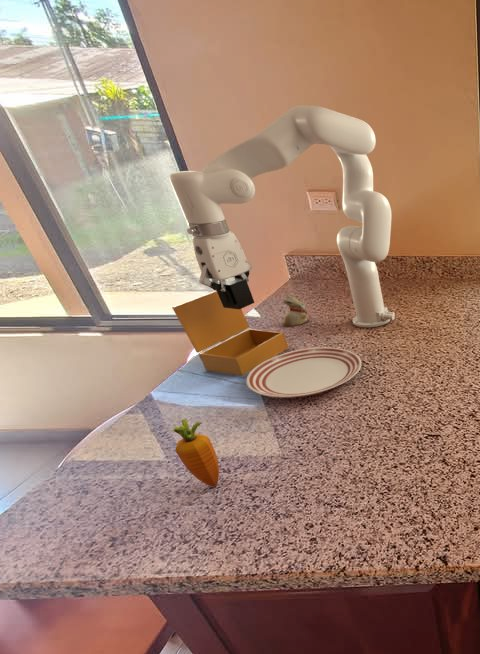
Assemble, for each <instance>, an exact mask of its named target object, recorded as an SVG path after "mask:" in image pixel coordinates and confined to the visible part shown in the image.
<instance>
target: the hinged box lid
mask: <svg viewBox="0 0 480 654" xmlns="http://www.w3.org/2000/svg"><path fill="white" fill-rule="evenodd" d="M172 310H173V312H174V314H175V315H176V317H177V319H178V321H179V323H180V325H181V327H182V328H183V330H184V332H185V333H186V336H187V338H188V339H189V341H190V343H191V345H192V346H193V348H194V350H195V352H196V353H201V352H203V351H205V350H207V349H209V348H211V347H213V346H215V345H217V344H219V343H221V341H223V340H225V339H227V338H229V337H231V336H233V335H235V334H237V333H239V332H241V331H243V330H245V329H247V328H250V325H249V322H248V320H247V318H246V316H245V314H244V312H243V310H242V309H232V308H224V307H223V305H222V302H221V300H220V298H219V295H218V293H217V291H215V290H213V291H212V292H209V293H207V294H204V295H201V296H198V297H195V298H193V299H190V300H188V301H185V302H182V303H180V304H176V305H175V306H172Z"/></svg>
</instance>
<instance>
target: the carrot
mask: <svg viewBox="0 0 480 654" xmlns="http://www.w3.org/2000/svg"><path fill="white" fill-rule="evenodd" d="M181 424H182V425H179V427H178V426H175V427H173V430H172V431H173V432H174V433H175V434H178V435H180V437H181V439H179V440H178V441H177V443H176V446H175V453H176V454H177V456H178V457H179V459H180V461H181V462H182V464H183V466H184V467H185V468H186V469H187V470H188V472H189V473H191V475H192V476H193V477H194V478H196V480H198V481H199V482H202V484H205V485H207V486H209V487H214V488H215V487H216V486H217V485H218V483H219V477H220V465H219V460H218V456H217V452H216V451H215V448H214V445H213V443H212V441H211V439H210V438H209V437H208V436H207V435H204V434H200V433H196V431H197V428H198V427H199V426H200V425H201V424H202V422H200V421H197V422H195V423H194V424H193V425H192V427H191V429H190V427H189V422H188V420H187V418H184V419H181Z"/></svg>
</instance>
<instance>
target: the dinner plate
mask: <svg viewBox="0 0 480 654" xmlns="http://www.w3.org/2000/svg"><path fill="white" fill-rule="evenodd" d="M361 368H362V360H361V358H360V357H359V355H358V354H357V353H355V352H353V351H351V350H348V349H344V348H339V347H330V346H329V347H328V346H323V347H321V346H319V347H308V348H302V349H295V350H292V351H288V352H284V353H280V354H277V355H276V356H274V357H273V358H270V359H268V360H266V361H264V362H262V363H261V364H259V365H257V366H256V367H255V368H254V369H253V370H251V371H250V372H248V373H247V376H246V379H245V383H246V386H247V387H248V389H249V390H250V391H252V392H253V393H255V394H257V395H260V396H265V397H269V398H277V399H278V398H279V399H281V398H282V399H291V398H302V397H309V396H313V395H317V394H320V393H324V392H326V391H330V390H332V389H334V388H336V387H339V386H340V385H341V386H342V385H343V384H345V383H347V382H348V381H350V380H352V378H354V377H355V376H356V375H357V374H358V373H359V371H361Z"/></svg>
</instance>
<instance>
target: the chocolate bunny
mask: <svg viewBox="0 0 480 654" xmlns="http://www.w3.org/2000/svg"><path fill="white" fill-rule="evenodd" d="M282 303H283V304H285V305H286V306H288V307H289V311H288V312H286V313H285V314H284V316H283V321H282V326H283V327H294V326H299V325H303V324H304V323H306V322H308V318H307V314H308V312H307V311H306V310H307V306H306V303H305V302H304V301H302V300H299V299H297V298H295V297H293V296H292V295H289V294H287V295H286V298H284V299H283V302H282Z"/></svg>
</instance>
